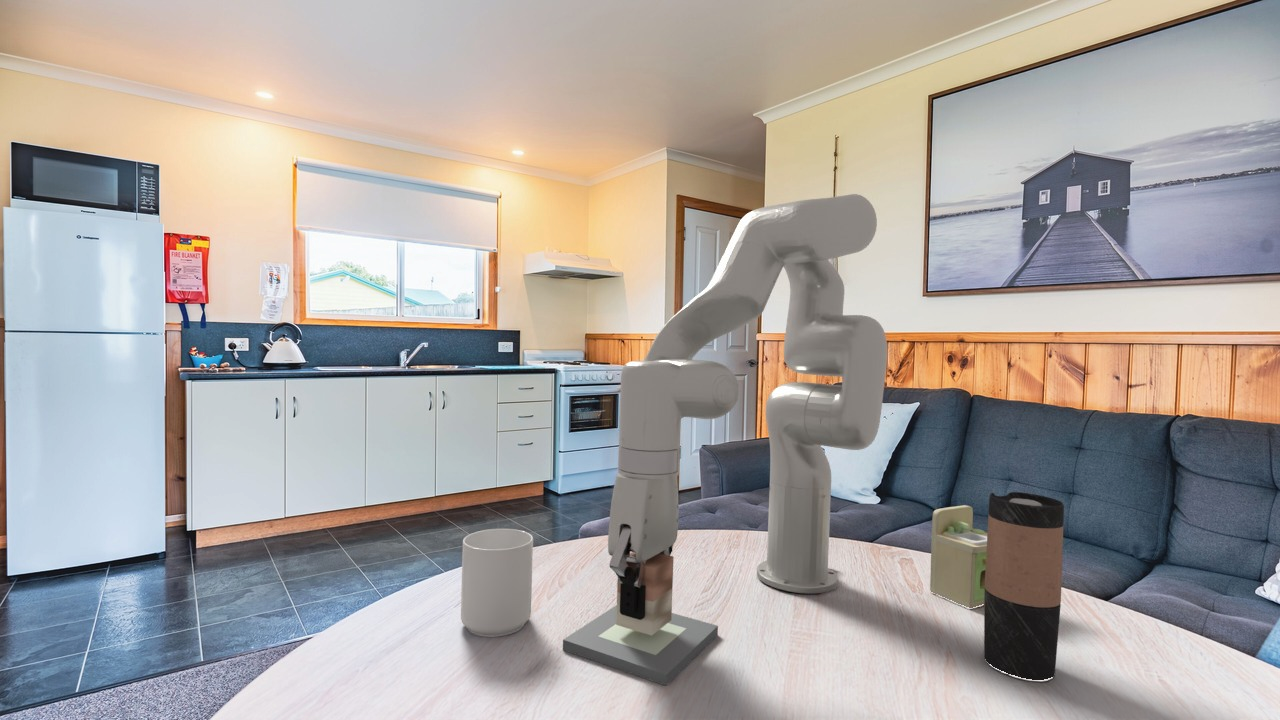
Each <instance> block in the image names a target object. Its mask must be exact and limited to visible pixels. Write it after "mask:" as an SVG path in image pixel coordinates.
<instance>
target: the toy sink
mask: <svg viewBox="0 0 1280 720" xmlns="http://www.w3.org/2000/svg"><path fill="white" fill-rule="evenodd" d="M973 516H974V509H973V507H972V506H970V505H967V504H966V505H965V504H963V505H957V506H949V507H943V508H937V509H935V510H934V511H933V512H932V519H931V544H930V546H931V548H930V551H931V552H930V575H929V577H930V580H929V582H930V583H929V592H930V591H931V592H933V593H935V594H938V595H940V596H942V597H945V598H947V599H949V600H952V601H954V602H956V603H958V604H961V605H964V606H966V607H969V608H973V607H976V606H979V605H982V604H984V596H985V569H986V551H987V531H986V532H985V530H982V529H980V528H974V527H973V521H974V519H973V518H974V517H973ZM931 592H930V593H931Z"/></svg>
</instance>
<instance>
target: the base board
mask: <svg viewBox="0 0 1280 720" xmlns="http://www.w3.org/2000/svg"><path fill="white" fill-rule="evenodd" d="M616 614H617V604H616V605H614V606H613V607H612V608H610V609H609V610H607V611H605V612H604V613H602V614H601V615H599V616H598V617H596V618H594V619H593V620H591V621H590V622H588V623H586V625H583V626H582V627H581V628H579V629H578V630H576V631H574V632H573V633H571V634H570V635H568V636H566V637H564V638H562V650H563V651H566V652H569V653H572V654H574V655H578V656H580V657H582V658H586V659H589V660H591V661H595V662H597V663H600V664H603V665H606V666H609V667H612V668H615V669H617V670H620V671H624V672H626V673H629V674H632V675H635V676H637V677H640V678H644V679H646V680H649V681H651V682H655V683H657V684H660V685H663V686H667V685H668V684H670V682H671V681H673V679H675V678H676V677H677V676H678V675H679V674H680V673H681V672H682V671H683V670H684V669H685V667H687V666H688V665H690V663H691V662H692V661H693V660H694V659H695V658H696V657H698V655H699V654H700V653H701V652H702V651H703V650H704V649H705V648H706V647H708V645H709V644H710V643H711V642H712V641H713V640H715V638H717V636H718V634H719V631H718V630H719V625H717V624H713V623H710V622H705V621H703V620H699V619H695V618H692V617H688V616H684V615H681V614H677V613H674V612H672V616H671V621H670V622H668V623H667V624H666V625H665V626H663V627H662V628H661V629H660V630H658V631H657V632H656V633H655V634H653V635H652V636H651V635H648V634H645V633H641V632H638V631H635V630H632V629H628V628H625V627H622V626H618V625H616Z"/></svg>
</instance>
